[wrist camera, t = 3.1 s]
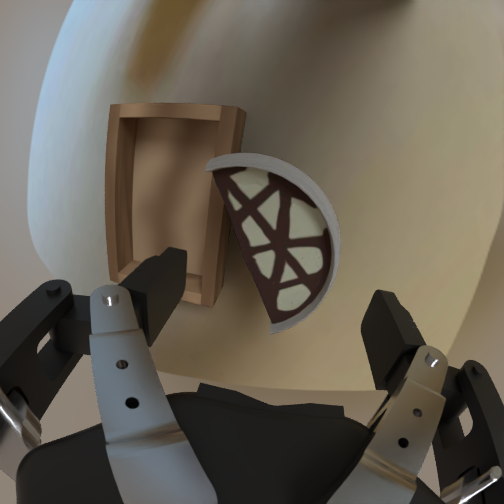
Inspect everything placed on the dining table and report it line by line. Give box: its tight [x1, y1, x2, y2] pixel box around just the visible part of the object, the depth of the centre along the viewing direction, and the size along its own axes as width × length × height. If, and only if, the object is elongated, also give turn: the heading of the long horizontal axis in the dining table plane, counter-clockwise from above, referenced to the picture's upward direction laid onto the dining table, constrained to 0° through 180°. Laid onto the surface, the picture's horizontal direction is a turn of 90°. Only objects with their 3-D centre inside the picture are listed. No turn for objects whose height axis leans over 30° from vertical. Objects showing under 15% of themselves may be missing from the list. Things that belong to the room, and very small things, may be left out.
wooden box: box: [105, 103, 246, 308], centre depth 24 cm, size 11×17×4 cm, turn 172°
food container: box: [204, 153, 341, 335], centre depth 20 cm, size 12×6×10 cm, turn 20°
